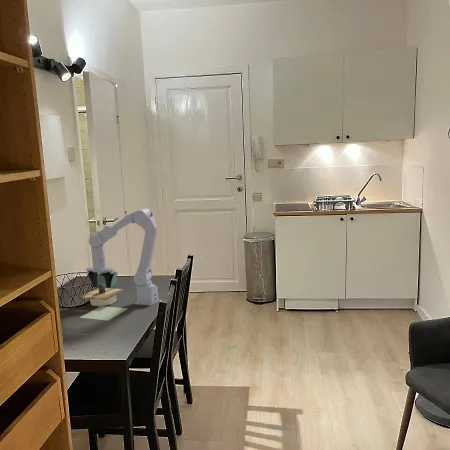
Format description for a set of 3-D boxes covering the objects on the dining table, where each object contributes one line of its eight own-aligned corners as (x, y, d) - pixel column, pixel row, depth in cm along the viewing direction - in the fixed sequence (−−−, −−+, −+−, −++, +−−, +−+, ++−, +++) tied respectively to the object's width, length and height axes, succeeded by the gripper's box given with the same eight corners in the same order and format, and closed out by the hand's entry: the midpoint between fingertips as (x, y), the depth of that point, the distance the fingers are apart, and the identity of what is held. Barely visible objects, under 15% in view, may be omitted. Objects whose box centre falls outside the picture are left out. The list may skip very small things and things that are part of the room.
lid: (123, 290, 229) (122, 281, 229) (106, 299, 217) (105, 289, 216) (99, 289, 235) (98, 279, 234) (80, 298, 222) (79, 288, 221)
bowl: (121, 299, 230) (120, 291, 229) (106, 307, 219) (105, 298, 218) (101, 297, 234) (100, 289, 234) (85, 305, 224) (84, 297, 223)
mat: (128, 309, 215) (128, 308, 215) (108, 321, 201) (108, 320, 201) (100, 306, 220) (100, 306, 220) (79, 318, 207) (79, 317, 207)
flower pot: (112, 293, 241) (110, 276, 239) (96, 293, 242) (94, 276, 241) (119, 288, 249) (117, 271, 248) (103, 288, 251) (102, 271, 249)
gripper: (81, 260, 222) (84, 289, 224) (106, 262, 217) (109, 290, 219) (90, 257, 229) (93, 284, 231) (116, 258, 223) (118, 286, 225)
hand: (102, 287), depth 225 cm, fingers open, 7 cm apart
